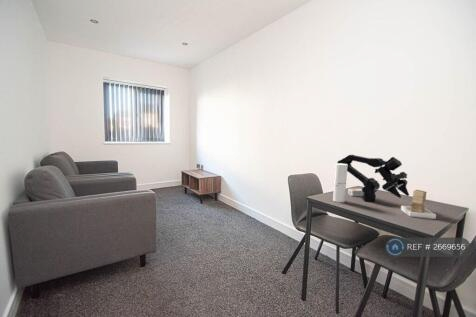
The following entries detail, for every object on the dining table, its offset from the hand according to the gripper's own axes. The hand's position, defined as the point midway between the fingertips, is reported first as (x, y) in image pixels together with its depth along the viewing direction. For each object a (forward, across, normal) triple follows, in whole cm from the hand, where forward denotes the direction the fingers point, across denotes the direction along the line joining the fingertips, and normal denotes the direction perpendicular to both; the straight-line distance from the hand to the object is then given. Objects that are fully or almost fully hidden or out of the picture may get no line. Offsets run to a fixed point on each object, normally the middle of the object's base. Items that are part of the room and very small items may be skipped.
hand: (404, 196), depth 135 cm
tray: (+11, 0, +1) cm, 11 cm away
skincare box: (-20, +1, +30) cm, 36 cm away
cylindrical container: (-14, -20, +27) cm, 37 cm away
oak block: (+11, 0, 0) cm, 11 cm away
